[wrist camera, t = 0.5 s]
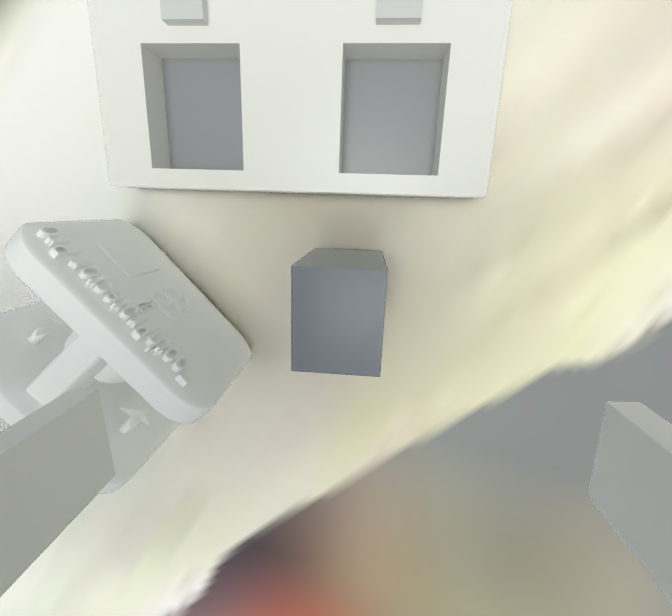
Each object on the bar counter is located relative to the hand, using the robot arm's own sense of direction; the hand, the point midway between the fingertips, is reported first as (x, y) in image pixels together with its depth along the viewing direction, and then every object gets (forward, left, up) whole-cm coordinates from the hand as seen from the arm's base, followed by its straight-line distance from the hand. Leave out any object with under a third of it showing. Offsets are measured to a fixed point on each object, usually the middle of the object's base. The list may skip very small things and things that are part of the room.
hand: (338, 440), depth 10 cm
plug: (-1, 0, -21) cm, 21 cm away
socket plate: (-5, +13, -21) cm, 25 cm away
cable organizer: (-17, -4, -21) cm, 27 cm away
